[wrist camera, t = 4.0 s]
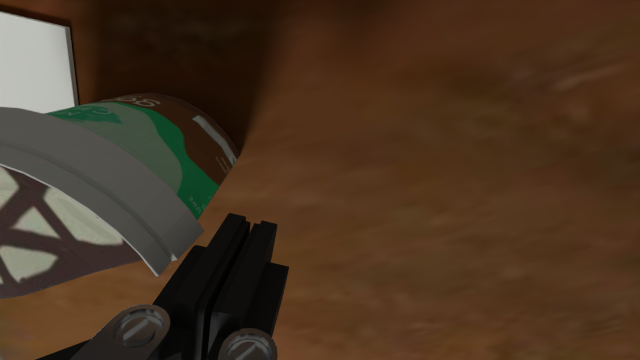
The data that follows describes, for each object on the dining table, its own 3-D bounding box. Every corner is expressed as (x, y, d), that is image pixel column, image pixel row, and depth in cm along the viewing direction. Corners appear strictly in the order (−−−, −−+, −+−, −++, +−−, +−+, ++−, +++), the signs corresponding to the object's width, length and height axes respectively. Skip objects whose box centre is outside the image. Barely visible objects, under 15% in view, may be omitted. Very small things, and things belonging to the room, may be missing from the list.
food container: (212, 31, 16) (28, 51, 7) (264, 147, 18) (174, 272, 10) (23, 111, 19) (-275, 198, 10) (88, 203, 21) (-106, 339, 12)
